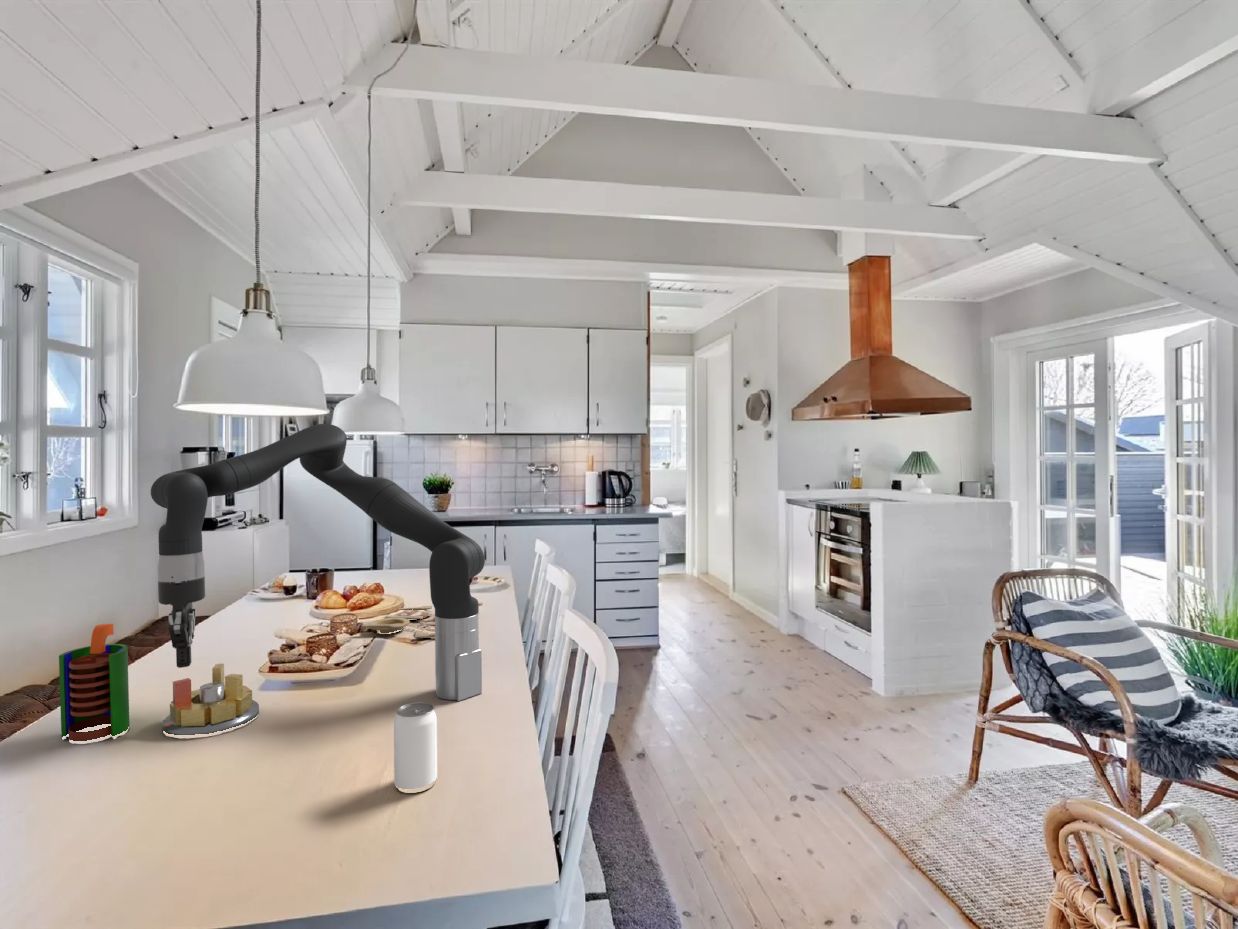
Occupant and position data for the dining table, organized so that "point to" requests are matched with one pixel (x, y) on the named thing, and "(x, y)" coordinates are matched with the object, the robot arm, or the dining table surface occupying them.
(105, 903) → the dining table surface
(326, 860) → the dining table surface
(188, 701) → the wooden blocks on tray
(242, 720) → the rotating turntable
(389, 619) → the tableware set
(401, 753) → the can
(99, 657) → the motor
